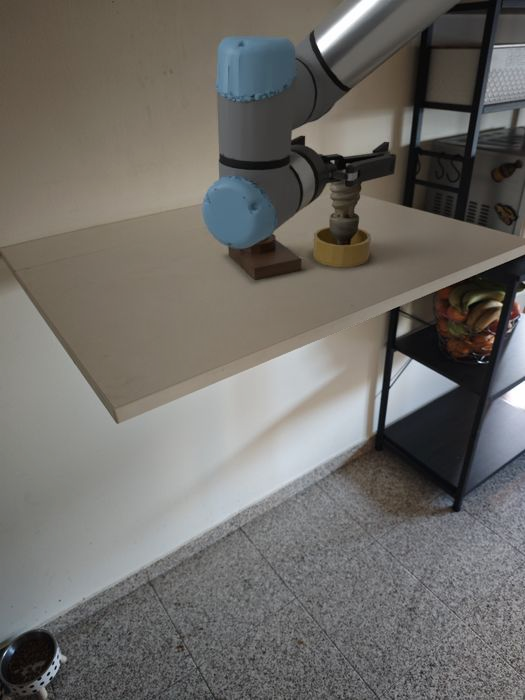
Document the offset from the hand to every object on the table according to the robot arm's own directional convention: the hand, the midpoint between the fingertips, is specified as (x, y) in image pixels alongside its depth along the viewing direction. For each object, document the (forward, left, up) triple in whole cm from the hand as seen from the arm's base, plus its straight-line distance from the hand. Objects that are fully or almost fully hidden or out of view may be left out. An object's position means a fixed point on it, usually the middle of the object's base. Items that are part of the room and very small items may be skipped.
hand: (343, 147), depth 78 cm
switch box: (+7, +11, -20) cm, 24 cm away
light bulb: (+3, -3, -20) cm, 20 cm away
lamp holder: (+3, -3, -20) cm, 21 cm away
